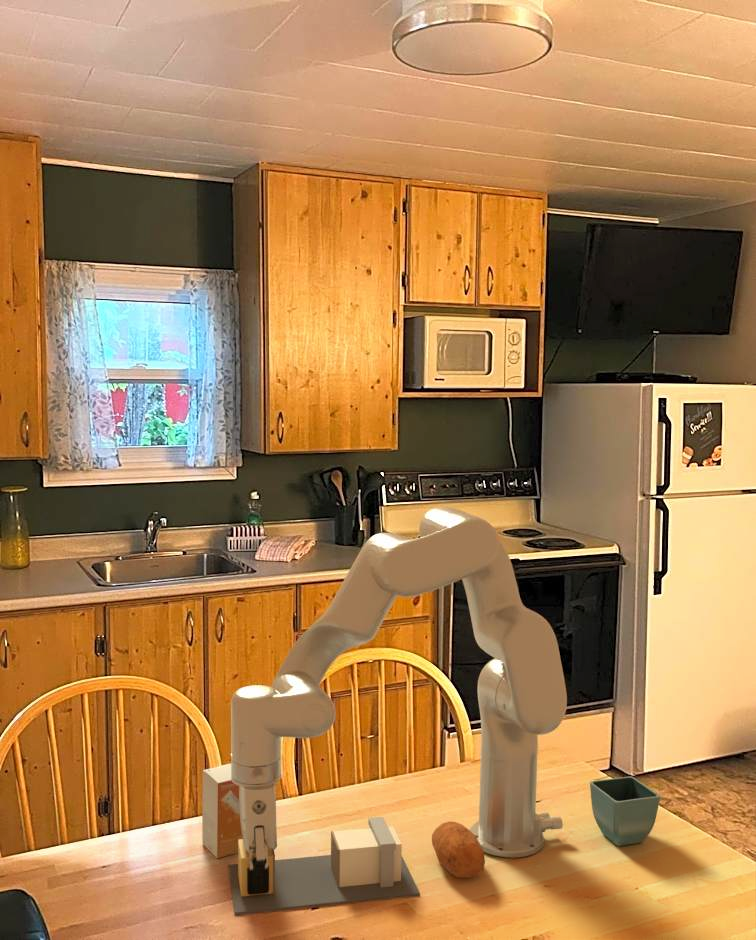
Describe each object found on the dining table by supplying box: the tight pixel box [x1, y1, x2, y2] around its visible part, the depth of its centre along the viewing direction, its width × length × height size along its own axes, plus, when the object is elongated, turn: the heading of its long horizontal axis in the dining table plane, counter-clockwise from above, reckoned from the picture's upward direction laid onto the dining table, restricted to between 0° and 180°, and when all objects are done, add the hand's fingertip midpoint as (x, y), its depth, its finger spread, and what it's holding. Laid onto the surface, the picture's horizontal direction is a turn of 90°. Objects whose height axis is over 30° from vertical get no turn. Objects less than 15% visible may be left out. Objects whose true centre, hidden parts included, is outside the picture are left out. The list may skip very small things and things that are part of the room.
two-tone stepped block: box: [330, 816, 403, 887], centre depth 152 cm, size 10×9×7 cm
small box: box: [201, 763, 243, 859], centre depth 161 cm, size 8×6×13 cm
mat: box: [228, 854, 421, 916], centre depth 150 cm, size 28×14×1 cm, turn 102°
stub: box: [237, 839, 276, 896], centre depth 148 cm, size 5×6×6 cm
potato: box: [431, 821, 486, 878], centre depth 155 cm, size 7×13×7 cm, turn 11°
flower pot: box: [589, 775, 661, 847], centre depth 165 cm, size 9×9×9 cm
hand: (256, 880), depth 148 cm, fingers closed on stub, 6 cm apart
